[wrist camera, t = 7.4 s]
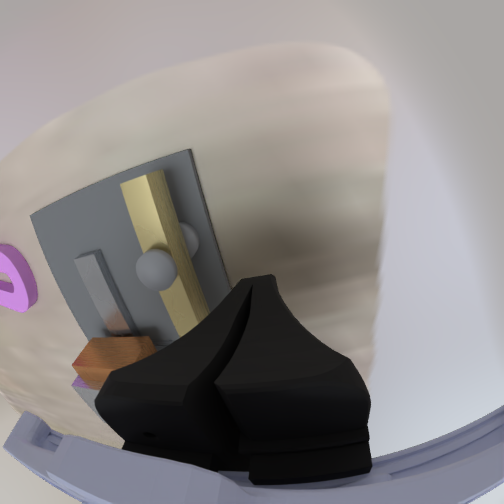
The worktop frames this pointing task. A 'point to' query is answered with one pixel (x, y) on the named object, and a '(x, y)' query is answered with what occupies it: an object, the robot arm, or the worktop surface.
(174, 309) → the keeper bar
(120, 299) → the block
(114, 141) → the worktop surface
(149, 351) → the orange block with stem
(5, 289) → the bracket
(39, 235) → the grey latch board
